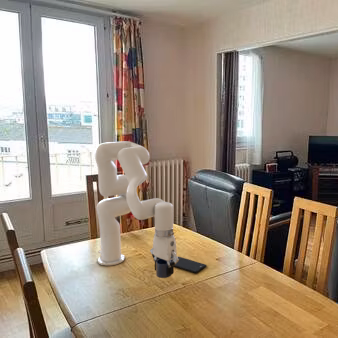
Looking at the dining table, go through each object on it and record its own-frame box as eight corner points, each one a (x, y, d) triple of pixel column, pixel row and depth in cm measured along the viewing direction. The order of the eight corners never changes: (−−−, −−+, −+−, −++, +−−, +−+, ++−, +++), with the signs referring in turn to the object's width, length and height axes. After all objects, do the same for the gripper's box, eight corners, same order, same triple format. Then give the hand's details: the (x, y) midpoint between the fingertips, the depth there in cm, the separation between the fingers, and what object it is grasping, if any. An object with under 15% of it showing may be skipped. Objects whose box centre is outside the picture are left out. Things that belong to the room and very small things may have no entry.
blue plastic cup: (152, 274, 138) (152, 261, 137) (164, 269, 143) (164, 256, 142) (163, 279, 134) (163, 266, 133) (175, 273, 140) (175, 260, 139)
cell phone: (177, 257, 167) (177, 256, 167) (206, 266, 158) (206, 264, 158) (166, 264, 160) (166, 262, 160) (195, 273, 151) (195, 271, 150)
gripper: (185, 234, 134) (185, 274, 137) (156, 225, 144) (156, 263, 147) (172, 239, 128) (172, 282, 131) (142, 229, 138) (143, 269, 141)
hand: (164, 271), depth 139 cm, fingers closed on blue plastic cup, 6 cm apart
